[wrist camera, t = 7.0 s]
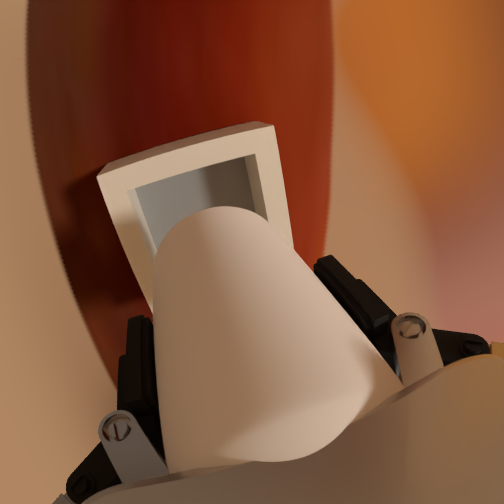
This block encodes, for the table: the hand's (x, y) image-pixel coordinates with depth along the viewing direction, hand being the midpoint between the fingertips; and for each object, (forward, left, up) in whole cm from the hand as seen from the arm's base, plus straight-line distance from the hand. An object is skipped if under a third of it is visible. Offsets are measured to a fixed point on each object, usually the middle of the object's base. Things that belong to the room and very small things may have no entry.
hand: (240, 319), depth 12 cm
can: (0, 0, -4) cm, 4 cm away
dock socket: (0, 0, -12) cm, 12 cm away
